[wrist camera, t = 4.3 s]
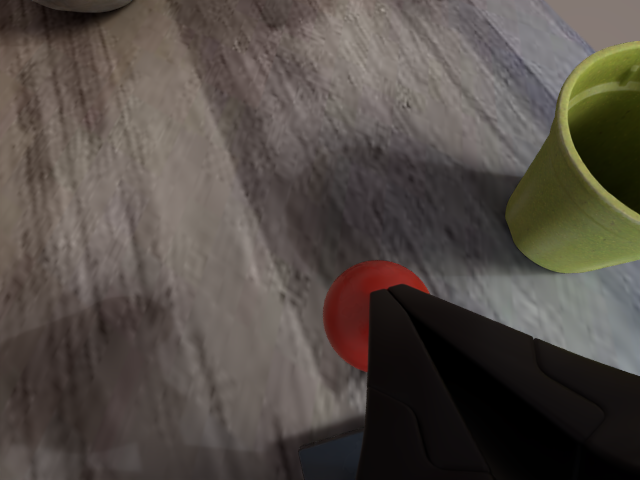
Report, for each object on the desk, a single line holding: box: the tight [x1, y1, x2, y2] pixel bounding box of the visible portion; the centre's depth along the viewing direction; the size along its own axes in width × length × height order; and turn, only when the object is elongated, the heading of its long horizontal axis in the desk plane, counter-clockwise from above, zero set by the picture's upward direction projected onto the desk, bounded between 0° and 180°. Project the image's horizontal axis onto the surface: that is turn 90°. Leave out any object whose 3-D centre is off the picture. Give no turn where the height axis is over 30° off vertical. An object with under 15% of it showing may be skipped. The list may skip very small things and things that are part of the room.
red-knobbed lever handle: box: [323, 260, 430, 372], centre depth 10 cm, size 12×3×3 cm, turn 15°
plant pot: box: [505, 41, 640, 273], centre depth 18 cm, size 9×9×9 cm
